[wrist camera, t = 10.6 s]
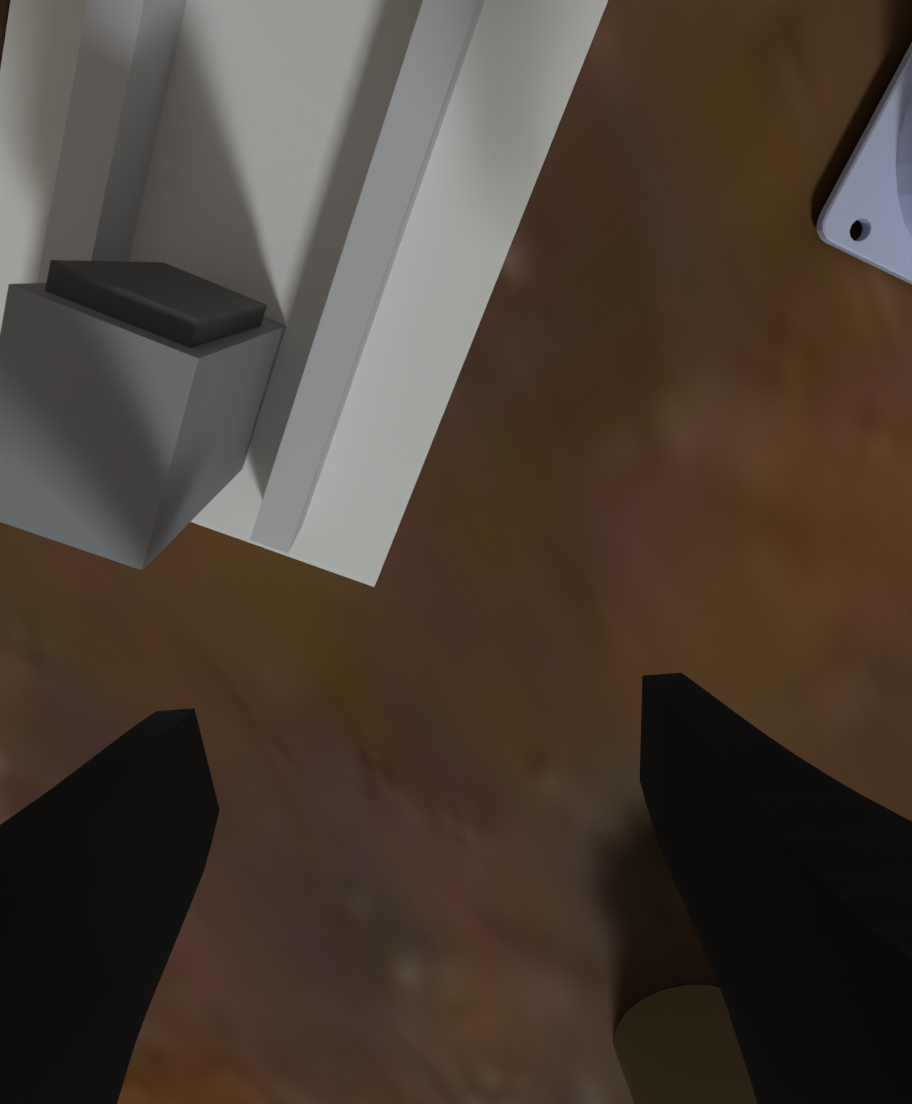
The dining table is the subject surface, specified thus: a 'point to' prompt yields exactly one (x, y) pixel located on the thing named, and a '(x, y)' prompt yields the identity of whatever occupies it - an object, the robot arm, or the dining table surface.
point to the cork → (682, 1049)
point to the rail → (255, 255)
